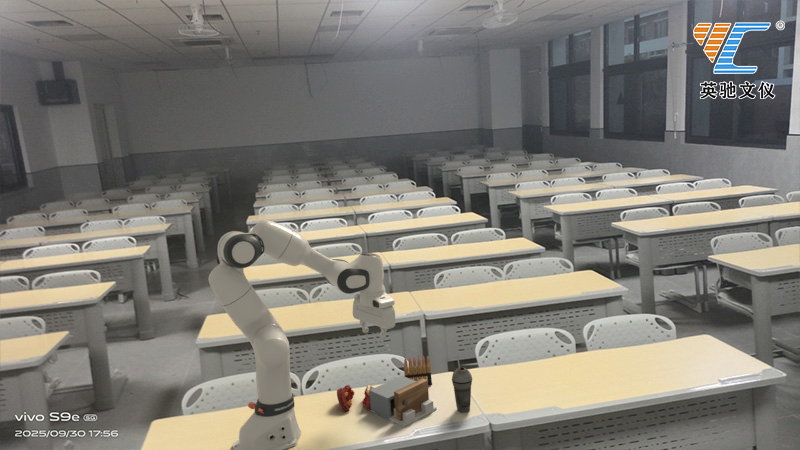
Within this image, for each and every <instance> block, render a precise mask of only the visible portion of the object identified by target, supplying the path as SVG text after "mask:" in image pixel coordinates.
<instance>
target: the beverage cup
mask: <svg viewBox="0 0 800 450" xmlns="http://www.w3.org/2000/svg"><path fill="white" fill-rule="evenodd" d="M456 360H457V366H458V368H457V369H455V370H454V371H453V373H452V376H451V383H452V386H453V391H454V398H455V399H454V400H455V405H456V411H457V412H458V413H461V414H466V413H469V412H470V411H471V397H472V396H471V395H472V384H473V377H472V373H471V372H470V370H468V369H467V368H465V367H461V366H460V365H461V364H460V359H459V356H458V355H457V356H456Z"/></svg>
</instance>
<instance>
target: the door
mask: <svg viewBox="0 0 800 450" xmlns="http://www.w3.org/2000/svg"><path fill="white" fill-rule="evenodd" d="M429 396H430V395H429V385H428V380H426V379H420V380H418V381H416V382H414V383H412V384H410V385H407V386H405V387H403V388H401V389H399V390H397V391H395V392H394V399H395V413H396V419H397V420H399V421H402V420H403V412H405V411H407V410H409V409H413V410H415V414H416V413H418V412H420V411H421V410H422V409H421V403H423V402H425V401H427V400H430V397H429Z"/></svg>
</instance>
